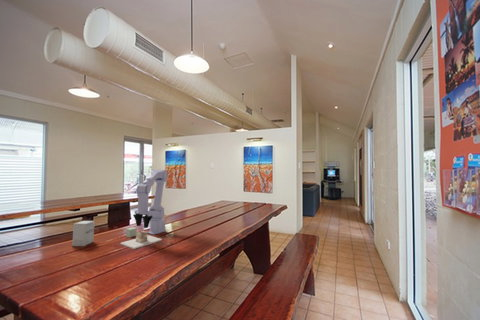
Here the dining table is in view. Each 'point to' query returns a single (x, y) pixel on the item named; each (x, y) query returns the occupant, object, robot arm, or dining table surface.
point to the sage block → (131, 232)
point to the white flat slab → (135, 244)
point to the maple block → (141, 236)
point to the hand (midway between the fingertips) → (142, 226)
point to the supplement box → (83, 233)
